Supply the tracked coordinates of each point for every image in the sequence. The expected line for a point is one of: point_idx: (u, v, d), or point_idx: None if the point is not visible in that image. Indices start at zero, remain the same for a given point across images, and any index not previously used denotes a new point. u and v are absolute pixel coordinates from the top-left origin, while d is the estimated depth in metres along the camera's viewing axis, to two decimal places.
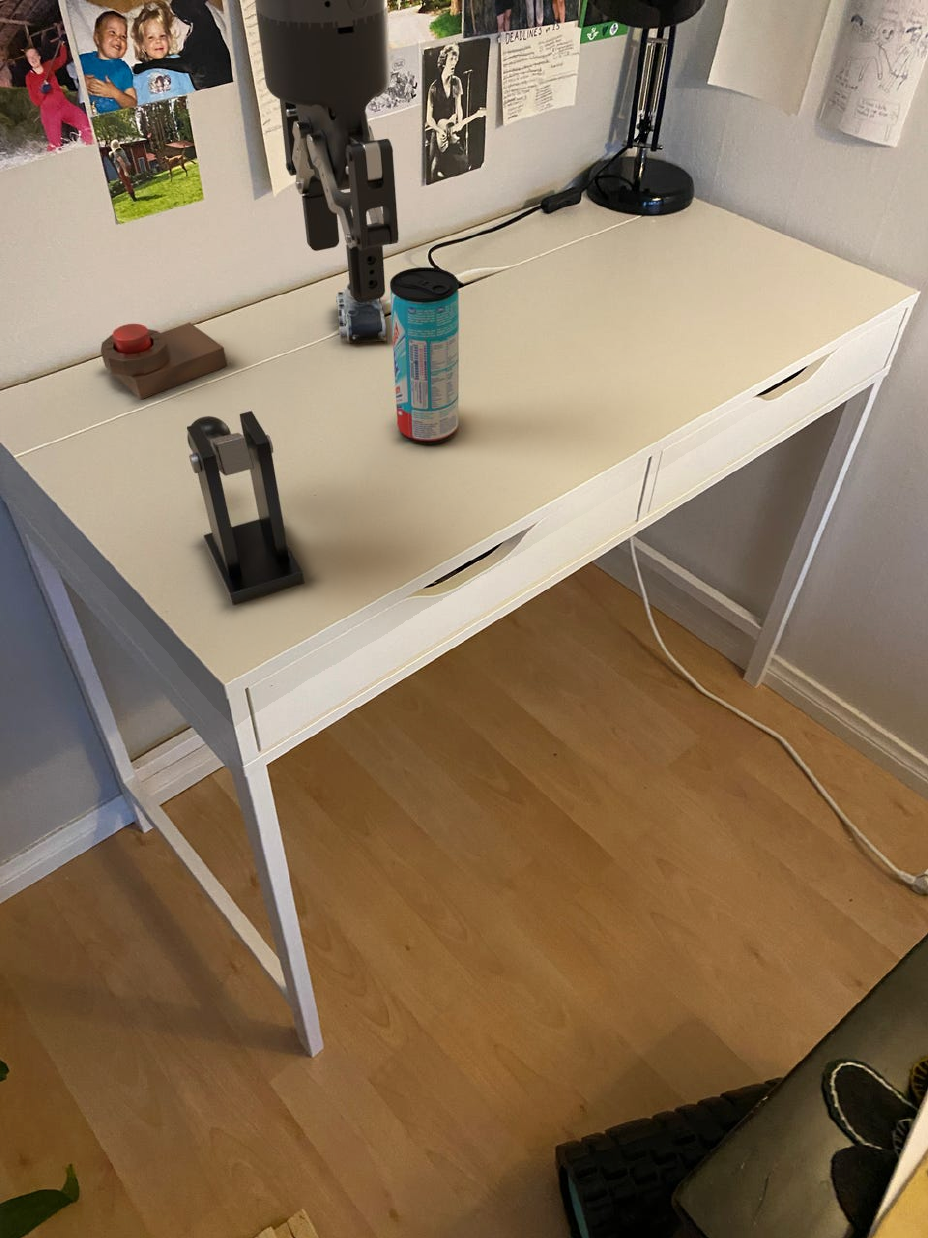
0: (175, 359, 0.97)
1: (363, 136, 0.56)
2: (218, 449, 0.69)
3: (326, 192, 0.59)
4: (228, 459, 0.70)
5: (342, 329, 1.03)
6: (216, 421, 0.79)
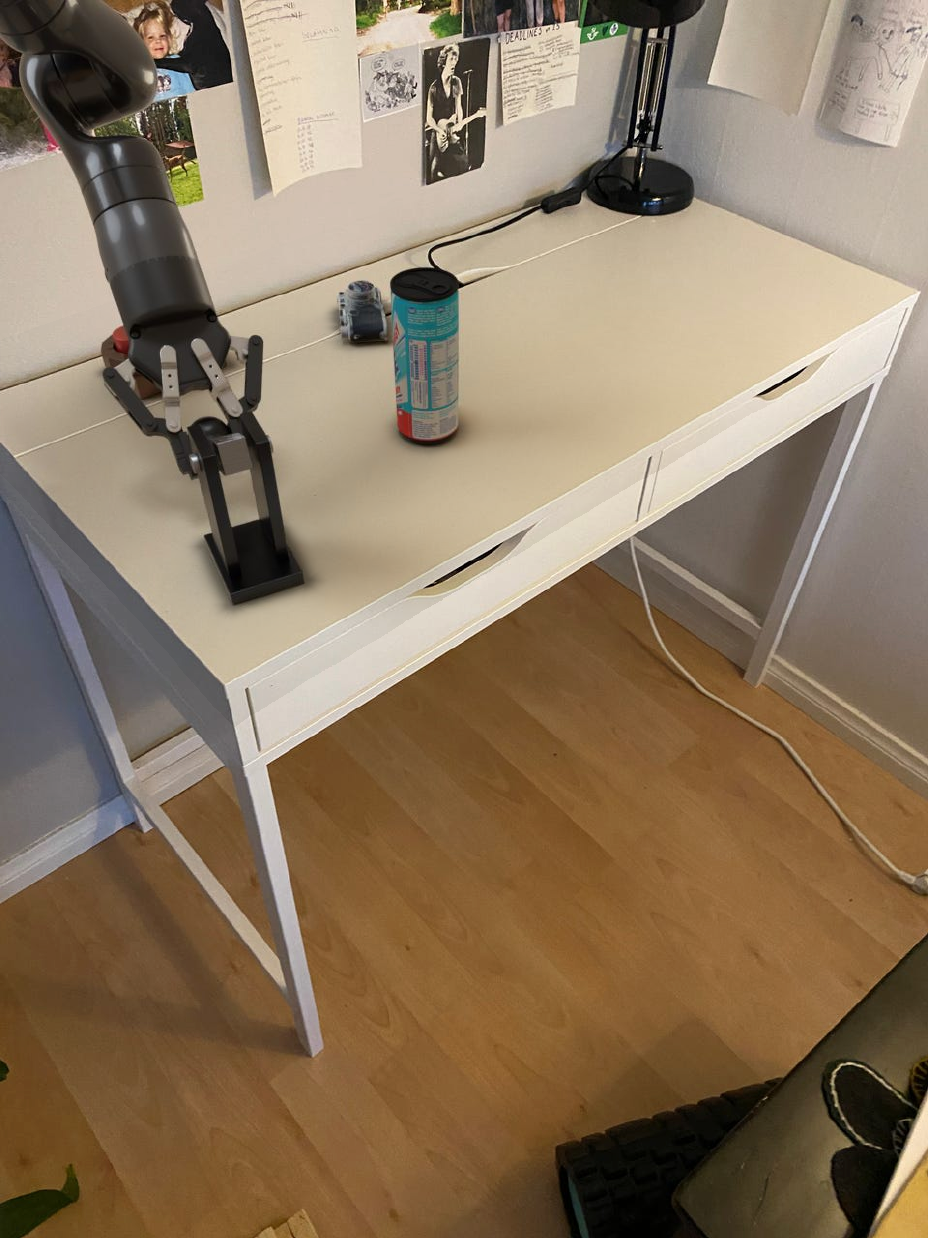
0: None
1: None
2: (218, 449, 0.69)
3: (214, 377, 0.78)
4: (228, 459, 0.70)
5: (343, 329, 1.03)
6: (216, 421, 0.79)
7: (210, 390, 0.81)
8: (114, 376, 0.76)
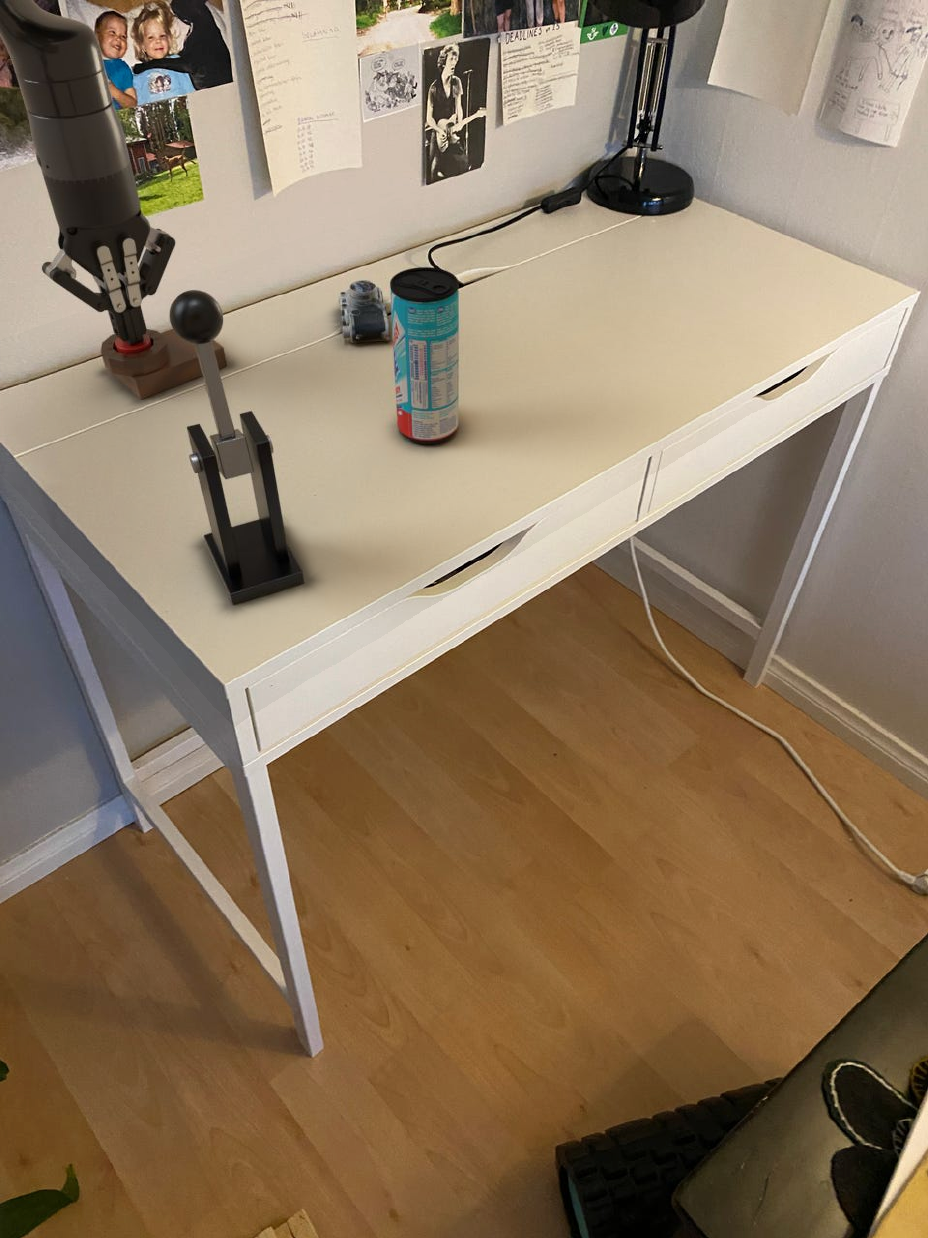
0: (175, 359, 0.97)
1: (149, 226, 0.91)
2: (225, 477, 0.71)
3: (130, 273, 0.90)
4: None
5: (345, 329, 1.03)
6: (214, 330, 0.66)
7: None
8: (63, 278, 0.87)
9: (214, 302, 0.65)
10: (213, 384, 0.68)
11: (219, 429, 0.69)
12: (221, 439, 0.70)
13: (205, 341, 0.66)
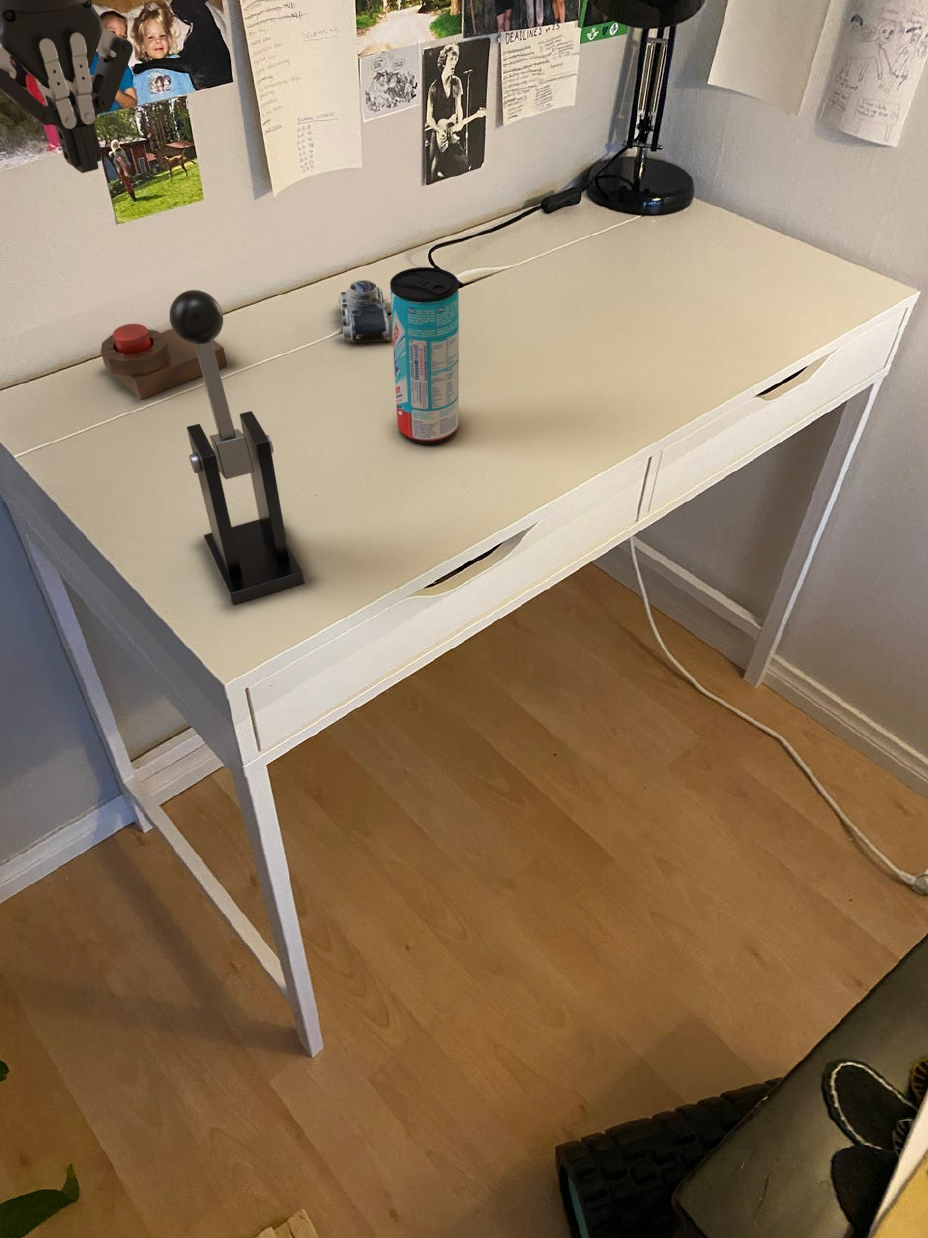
0: (175, 359, 0.97)
1: None
2: (225, 477, 0.71)
3: (80, 79, 0.78)
4: None
5: (346, 329, 1.03)
6: (214, 330, 0.66)
7: None
8: (0, 75, 0.75)
9: (214, 302, 0.65)
10: (213, 384, 0.68)
11: (219, 429, 0.69)
12: (221, 439, 0.70)
13: (205, 341, 0.66)
